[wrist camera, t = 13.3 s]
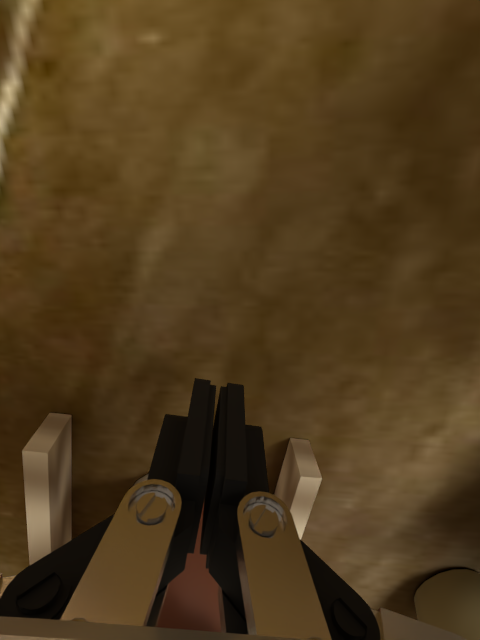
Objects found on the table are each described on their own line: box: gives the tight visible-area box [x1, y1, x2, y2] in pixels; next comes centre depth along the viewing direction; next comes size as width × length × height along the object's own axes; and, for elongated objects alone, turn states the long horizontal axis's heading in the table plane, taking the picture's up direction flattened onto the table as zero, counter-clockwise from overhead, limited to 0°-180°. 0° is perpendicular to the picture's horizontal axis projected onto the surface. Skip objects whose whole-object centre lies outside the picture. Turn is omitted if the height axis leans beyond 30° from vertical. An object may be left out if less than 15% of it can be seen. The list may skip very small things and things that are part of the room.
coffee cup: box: [133, 474, 221, 632], centre depth 17 cm, size 9×9×12 cm
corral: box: [22, 413, 322, 565], centre depth 22 cm, size 16×15×3 cm
